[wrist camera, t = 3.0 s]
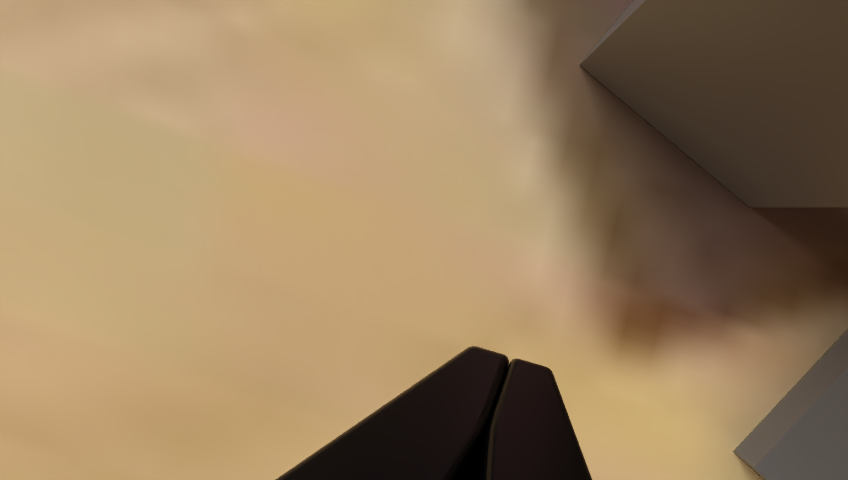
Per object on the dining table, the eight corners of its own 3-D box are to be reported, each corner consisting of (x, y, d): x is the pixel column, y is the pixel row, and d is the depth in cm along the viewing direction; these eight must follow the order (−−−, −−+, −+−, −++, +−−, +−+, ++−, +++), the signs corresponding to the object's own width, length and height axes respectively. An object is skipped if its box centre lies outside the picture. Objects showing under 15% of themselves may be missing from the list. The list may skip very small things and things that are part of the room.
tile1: (749, 207, 20) (1219, 207, 8) (579, 65, 20) (798, -150, 8) (796, 152, 20) (1339, 69, 8) (625, 9, 20) (917, -293, 8)
